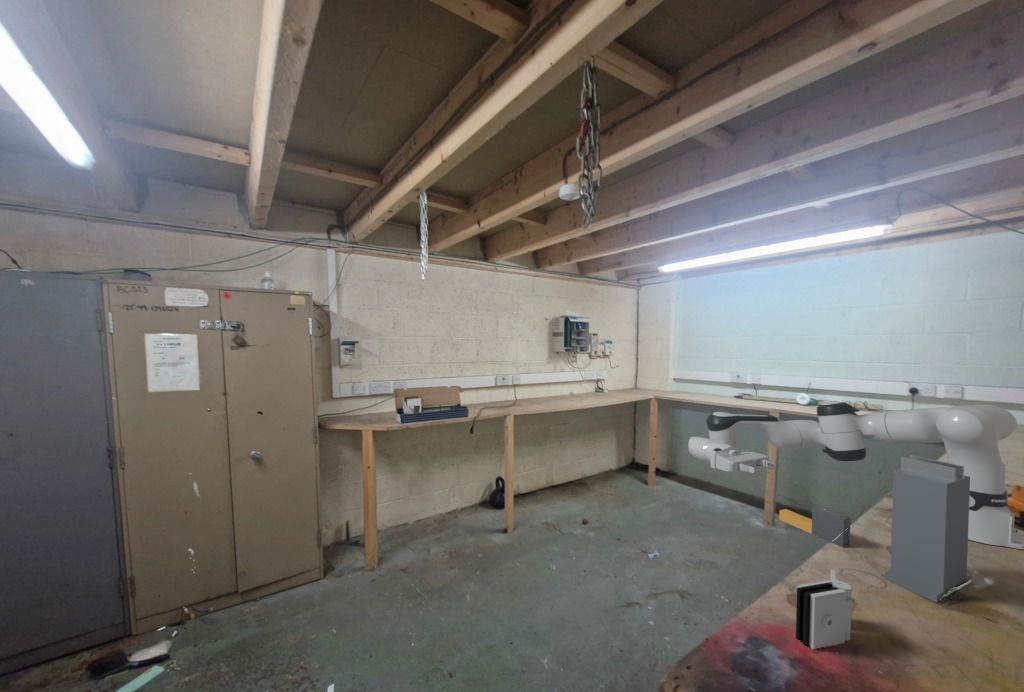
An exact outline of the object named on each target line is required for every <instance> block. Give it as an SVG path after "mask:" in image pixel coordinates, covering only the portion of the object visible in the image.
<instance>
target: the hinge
mask: <svg viewBox="0 0 1024 692" xmlns="http://www.w3.org/2000/svg"><path fill="white" fill-rule="evenodd" d="M829 572H830V575H829V579H830V580H829V579H828V580H827V579H826V580H821V581H820V580H819V581H815V582H810V583H808V582H807V583H803V584H798V585H797V588H796V612H795V613H796V616H795V618H796V620H795V640H796V639H797V640H796V641H798V640H803V641H802V645H803V644H804V645H805V646H808V647H809V646H810V647H809V648H811V649H812V650H813V649H814V650H817V649H816V648H819V649H821V648H820V647H824V648H827V647H826V646H828V647H833V646H838V645H841V644H845V642H846V641H850V640H851V627H852V625H851V624H852V590H853V589H852V586H851V585H850V584H849V583H847V582H845V581H842V580H839V579H837V575H836V574H837V571H836V570H834V569H830V571H829ZM804 645H803V646H804ZM832 645H833V646H832ZM805 646H804V647H805Z"/></svg>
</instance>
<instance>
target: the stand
mask: <svg viewBox="0 0 1024 692" xmlns="http://www.w3.org/2000/svg"><path fill="white" fill-rule="evenodd" d="M892 480H893V481H892V508H891V509H892V510H891V511H892V512H891V513H892V515H891V540H890V541H891V542H890V543H891V544H890V545H891V546H890V569H889V570H887V571H884V572H883V579H884V580H886V581H888V582H890V583H892V584H895V585H897V586H899V587H901V588H904V589H906V590H908V591H910V592H913V593H914V594H917V595H919V596H921V597H924V598H925V599H928V600H930V601H932V602H933V603H934V602H935V603H939V602H941V600H940V599H941V598H942V596H943V595H944V594H945V593H947V592H948V591H949V590H950V589H951V588H953V587H958V586H960V585H962V584H964V583H966V582H968V581H969V580H971V579H972V580H973V576H972V575H969V574H968V548H969V546H968V545H969V539H968V523H969V496H970V477H968V476H964V466H962V465H957V464H952V463H948V462H947V461H943V460H937V459H933V458H932V459H931V458H927V457H923V456H919V455H918V456H917V455H913V454H909V457H905V456H900V469H896V470H894V471H893V479H892Z"/></svg>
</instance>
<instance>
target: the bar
mask: <svg viewBox="0 0 1024 692" xmlns="http://www.w3.org/2000/svg"><path fill="white" fill-rule="evenodd" d="M778 519H779V520H780V521H782V522H785V523H786V524H789V525H791V526H793V527H795V528H798V529H800V530H802V531H805V532H806V533H809V534H811V535H813V536H816V537H818V538H821V539H823V540H825V541H828V542H829V543H832V544H834V545H836V546H839V547H841V546H842V547H841V548H845V547H844V546H847V545H851V543H850V542H851V517H850V516H848V515H844V514H841V512H837V511H833V510H831V509H829V508H826V507H824V506H820V505H816V506H812V507H811V518H809V517H806V516H804V515H801V514H800V513H797V512H794V511H791V510H790V509H787V508H784V509H780V510H779V517H778ZM847 528H848V529H847ZM846 529H847V530H846ZM845 530H846V531H845ZM842 532H843V533H842ZM841 533H842V534H841ZM839 534H841V535H840V536H839V537H838V538H837V539H836V540H834V539H835V538H836V537H837V536H838V535H839ZM832 540H834V541H833V542H831V541H832ZM847 547H848V546H847Z"/></svg>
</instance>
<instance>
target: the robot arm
mask: <svg viewBox="0 0 1024 692" xmlns="http://www.w3.org/2000/svg"><path fill="white" fill-rule="evenodd" d="M857 412H861V410H860V409H858V408H857V409H856V408H855V407H854V406H853V405H852V404H849V403H847V402H843V401H838V400H830V401H825V402H824V403H822V404H819V405H818V406H817V407H816V416H817V417H818V421H816V420H812V419H791V420H780V419H779V418H778V417H777V416H775V415H771V414H768V413H767V414H766V413H749V412H748V413H744V412H729V411H728V412H727V411H713V412H712V413H710V414H709V415H708V417H707V418H706V419H705V421H706V425H707V429H708V436H709V438H708V437H707V438H706V437H702V436H695V435H694V436H692V437H690V438H689V440H688V443H687V447H688V453H689V454H690V455H691V456H692V457H694V458H696V459H698V460H699V461H703V462H705V463H709V464H710V468H711V469H713V470H721V471H722V472H726V473H737V472H746V473H747V472H749V473H752V474H755V473H758V468H765V467H766V468H767V469H770V470H775V469H776V464H775V463H773V462H771V461H770V456H768V455H767V454H763V453H759V452H755V451H747V450H746V451H742V452H741V451H739V444H738V442H739V441H738V437H737V436H738V435H737V427H738V426H759V428H760V429H761V431H762V433H763V435H764V437H765V439H766V440H767V441H768V442H769V443H770V444H771V445H772V446H773V447H775V449H778V450H781V451H794V450H801V449H806V448H807V449H808V448H810V447H811V448H812V447H819V446H821V447H824V448H823V449H821V451H822V453H825V454H827V456H829V457H830V458H832V459H833V460H836V461H837V462H842V463H857V462H859V461H863V460H864V459H865V458H867V456H866V455H867V448H866V447H865V443H864V440H866V441H870V442H876V443H886V444H887V443H889V444H927V443H928V444H931V443H932V444H935V443H943V444H944V448H945V454H946V462H948V463H952V464H957V465H962V466H964V476H968V477H970V496H969V523H968V541H973V542H977V543H981V544H986V545H992V546H997V547H998V546H999V547H1007V548H1010V549H1011V548H1013V549H1015V550H1016V549H1017V550H1024V530H1022V529H1018V528H1017V527H1015V514H1014V513H1013V512H1012V511H1011V510H1010V508H1009V507H1008V495H1009V494H1008V493H1009V492H1008V490H1005V483H1006V482H1005V481H1006V465H1005V464H1004V462H1003V461H1002V457H1001V455H1000V450H999V445H998V444H999V443H998V442H999V441H1000V440H1001V441H1002V440H1004V439H1006V438H1009V437H1010V436H1011V435H1012V434H1013V433H1015V431H1016V430H1017V427H1018V421H1017V418H1016V417H1015V416H1014V414H1012V412H1010V411H1008V410H1007V409H1004V408H1002V407H999V406H995V405H991V404H985V403H983V404H965V405H954V406H951V405H950V406H941V407H927V408H912V409H911V408H910V409H898V410H897V409H896V410H884V411H883V410H882V411H875V412H871V413H865V414H858V413H857Z"/></svg>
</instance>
